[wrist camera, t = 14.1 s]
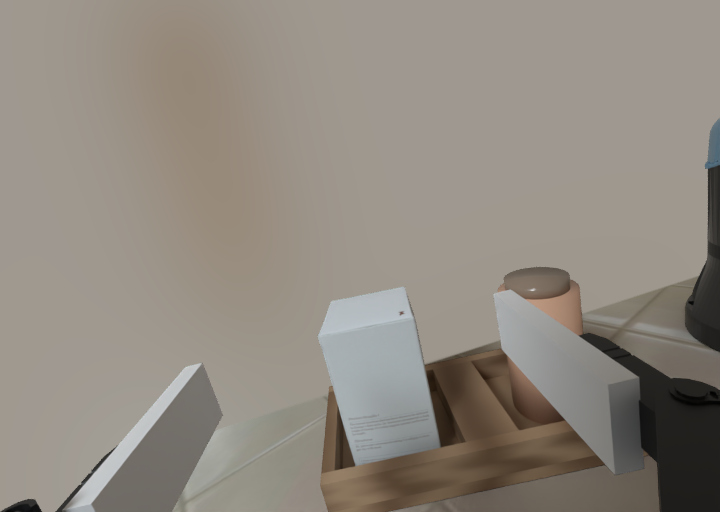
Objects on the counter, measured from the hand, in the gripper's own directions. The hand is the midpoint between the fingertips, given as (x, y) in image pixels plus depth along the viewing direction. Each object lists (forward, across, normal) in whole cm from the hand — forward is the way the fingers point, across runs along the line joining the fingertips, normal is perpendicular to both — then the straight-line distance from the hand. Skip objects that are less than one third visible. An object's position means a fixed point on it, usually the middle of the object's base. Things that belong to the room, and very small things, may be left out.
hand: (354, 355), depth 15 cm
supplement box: (+12, 0, -16) cm, 20 cm away
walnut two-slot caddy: (+12, +7, -17) cm, 22 cm away
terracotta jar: (+12, +14, -16) cm, 25 cm away
